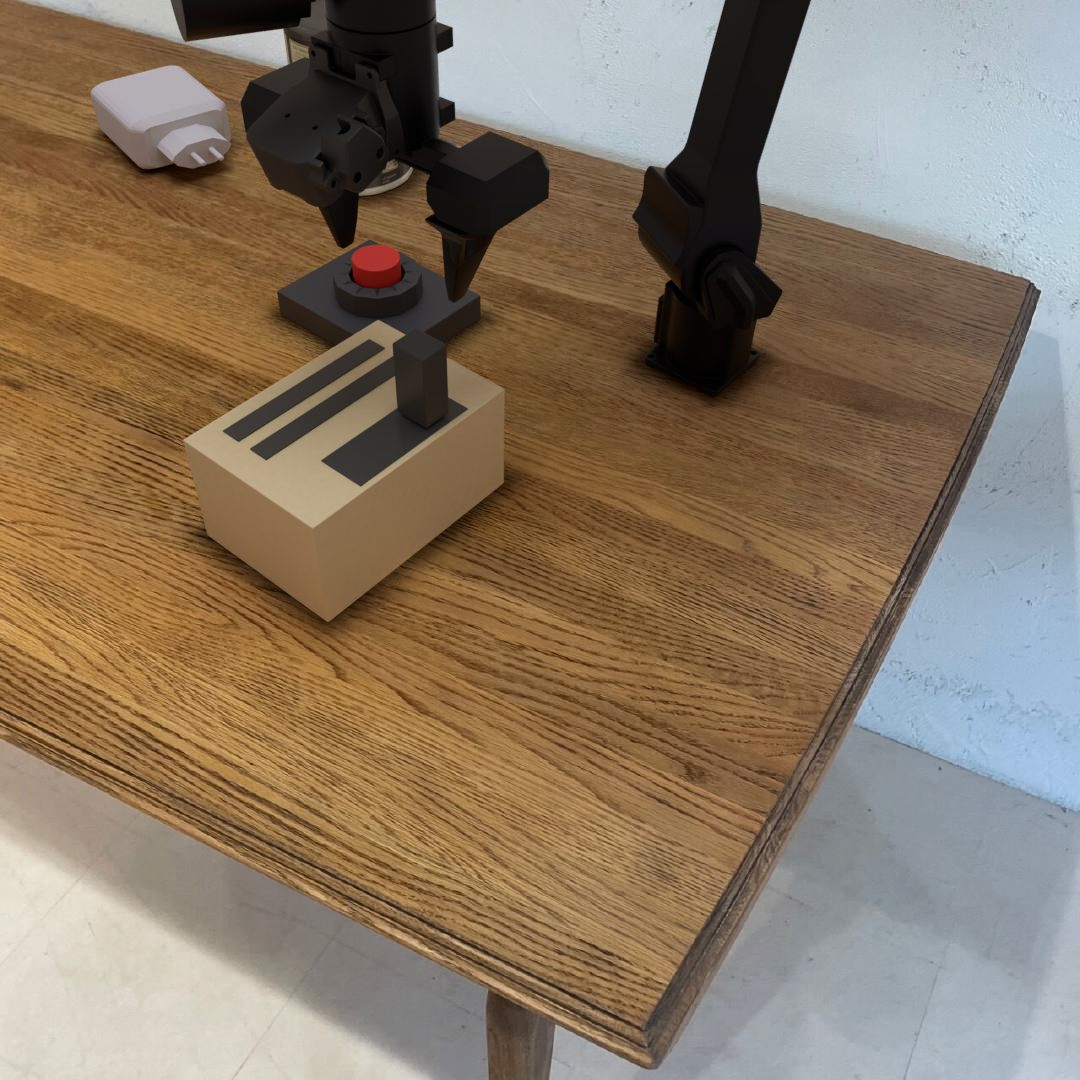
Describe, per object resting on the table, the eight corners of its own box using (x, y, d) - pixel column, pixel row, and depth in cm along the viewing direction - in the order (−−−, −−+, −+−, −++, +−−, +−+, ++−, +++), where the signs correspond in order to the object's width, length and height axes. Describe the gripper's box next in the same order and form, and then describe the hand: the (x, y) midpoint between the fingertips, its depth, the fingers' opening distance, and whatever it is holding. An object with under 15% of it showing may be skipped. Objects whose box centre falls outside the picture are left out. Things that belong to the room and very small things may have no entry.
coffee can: (418, 144, 108) (410, -11, 98) (407, 200, 101) (397, 39, 91) (309, 139, 108) (291, -15, 98) (291, 195, 101) (268, 34, 91)
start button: (411, 276, 86) (410, 256, 85) (377, 296, 84) (375, 276, 83) (377, 258, 88) (375, 238, 87) (343, 278, 86) (341, 258, 85)
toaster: (504, 483, 76) (505, 387, 70) (328, 623, 67) (312, 527, 62) (386, 413, 81) (377, 317, 75) (207, 535, 72) (181, 438, 66)
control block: (481, 318, 89) (480, 274, 86) (390, 378, 84) (387, 333, 81) (372, 262, 94) (368, 218, 91) (280, 314, 89) (272, 270, 86)
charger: (169, 202, 100) (100, 134, 108) (264, 172, 104) (191, 109, 112) (157, 151, 96) (87, 85, 104) (256, 122, 100) (181, 61, 108)
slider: (449, 412, 68) (446, 344, 65) (426, 428, 67) (422, 360, 63) (420, 395, 69) (416, 327, 66) (397, 411, 68) (391, 343, 65)
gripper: (138, 10, 58) (196, 273, 70) (409, 122, 51) (426, 397, 62) (297, -49, 65) (327, 201, 76) (560, 43, 57) (550, 305, 68)
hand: (399, 271), depth 70 cm, fingers open, 9 cm apart
